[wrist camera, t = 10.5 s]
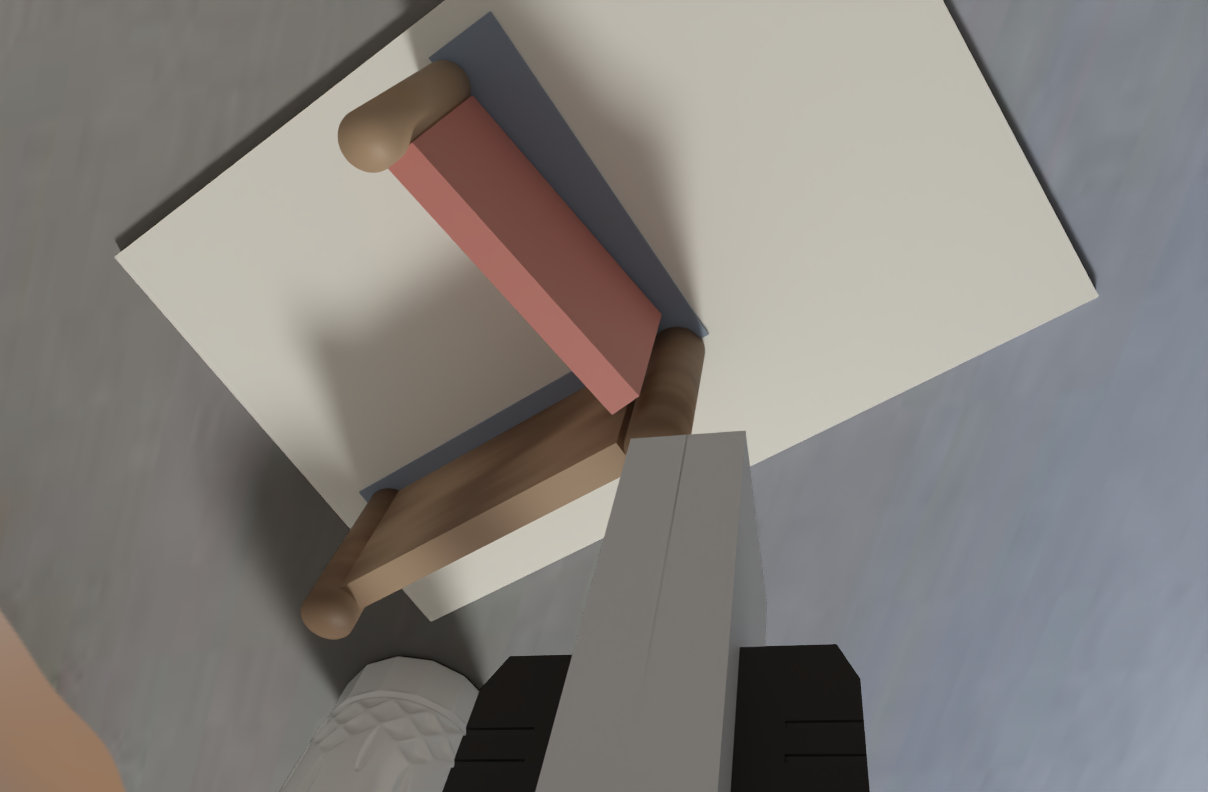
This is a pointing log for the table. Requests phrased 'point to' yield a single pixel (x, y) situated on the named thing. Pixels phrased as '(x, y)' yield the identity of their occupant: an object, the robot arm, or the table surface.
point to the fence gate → (508, 225)
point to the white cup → (389, 731)
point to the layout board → (623, 240)
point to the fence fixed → (502, 486)
